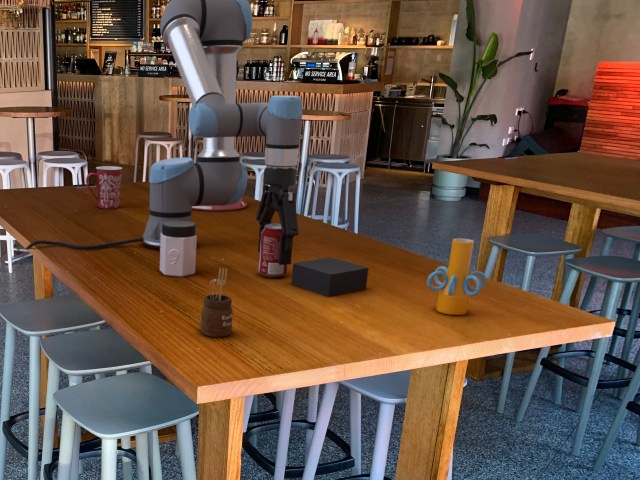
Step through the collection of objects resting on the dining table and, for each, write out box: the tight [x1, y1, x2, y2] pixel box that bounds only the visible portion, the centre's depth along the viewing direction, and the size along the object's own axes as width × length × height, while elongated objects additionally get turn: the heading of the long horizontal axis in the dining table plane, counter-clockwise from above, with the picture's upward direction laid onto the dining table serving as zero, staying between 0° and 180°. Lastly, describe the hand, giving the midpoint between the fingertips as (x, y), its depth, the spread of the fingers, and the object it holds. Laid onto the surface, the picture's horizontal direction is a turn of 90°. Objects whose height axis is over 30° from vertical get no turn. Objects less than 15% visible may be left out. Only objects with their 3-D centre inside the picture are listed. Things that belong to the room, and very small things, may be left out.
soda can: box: [258, 223, 288, 279], centre depth 190 cm, size 7×7×12 cm
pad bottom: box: [290, 273, 368, 297], centre depth 183 cm, size 12×12×2 cm
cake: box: [192, 197, 248, 212], centre depth 282 cm, size 25×25×11 cm
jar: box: [159, 220, 198, 277], centre depth 192 cm, size 9×8×12 cm
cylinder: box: [426, 237, 487, 316], centre depth 163 cm, size 12×10×15 cm
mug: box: [85, 165, 123, 210], centre depth 275 cm, size 13×9×14 cm
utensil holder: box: [200, 267, 234, 338], centre depth 149 cm, size 6×6×12 cm
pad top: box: [291, 256, 369, 285], centre depth 182 cm, size 12×12×2 cm
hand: (273, 257), depth 191 cm, fingers open, 13 cm apart
